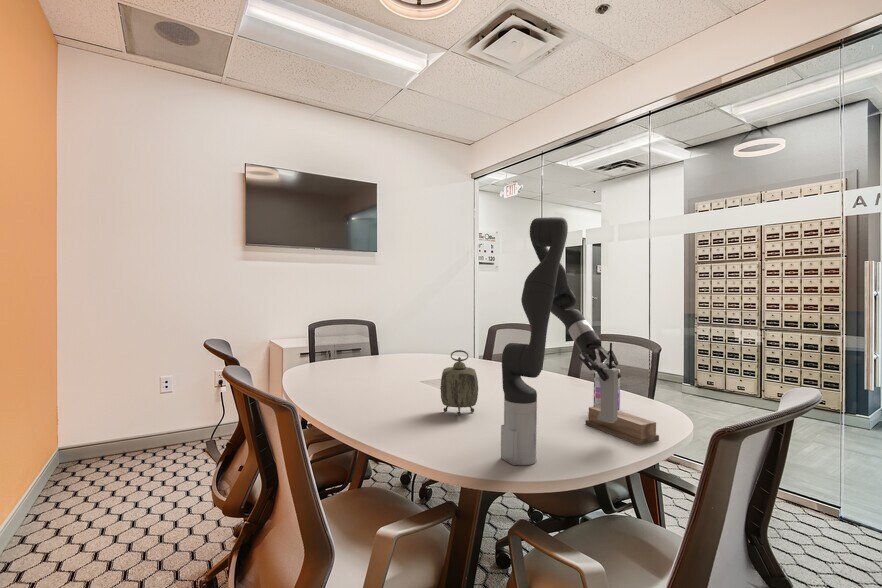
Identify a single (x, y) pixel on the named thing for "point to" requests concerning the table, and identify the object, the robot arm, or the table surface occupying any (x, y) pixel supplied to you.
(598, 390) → the candy box
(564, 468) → the table surface
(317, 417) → the table surface
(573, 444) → the table surface
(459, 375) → the tabletop clock
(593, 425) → the walnut ridge
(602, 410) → the vintage mobile phone
